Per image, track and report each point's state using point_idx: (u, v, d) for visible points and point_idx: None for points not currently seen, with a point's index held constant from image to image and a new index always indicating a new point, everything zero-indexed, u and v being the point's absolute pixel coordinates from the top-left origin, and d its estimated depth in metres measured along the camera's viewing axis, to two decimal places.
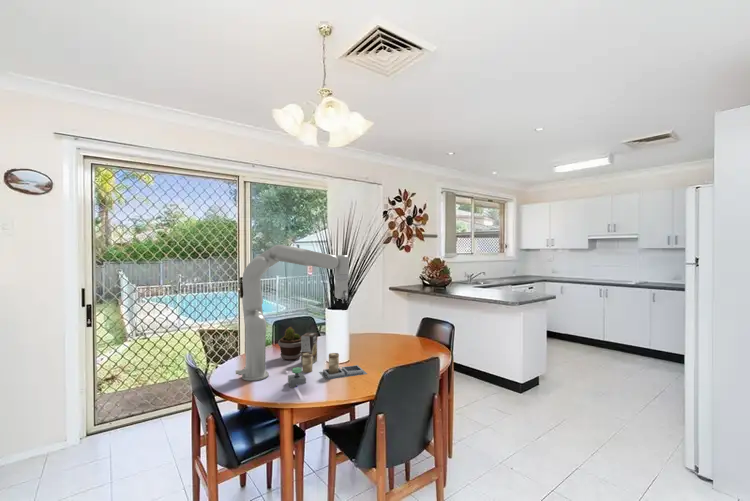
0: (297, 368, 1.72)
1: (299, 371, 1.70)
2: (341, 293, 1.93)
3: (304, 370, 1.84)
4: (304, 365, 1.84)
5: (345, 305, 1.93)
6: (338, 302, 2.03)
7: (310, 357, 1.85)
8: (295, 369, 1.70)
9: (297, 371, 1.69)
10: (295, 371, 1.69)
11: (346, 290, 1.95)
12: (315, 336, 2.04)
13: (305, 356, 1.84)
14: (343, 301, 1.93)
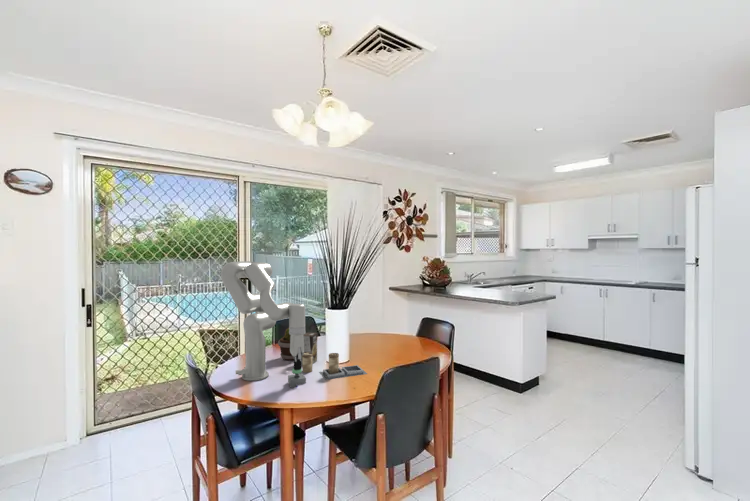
0: None
1: (299, 371, 1.70)
2: (295, 350, 1.66)
3: (304, 370, 1.84)
4: (304, 365, 1.84)
5: (298, 364, 1.70)
6: None
7: (310, 357, 1.85)
8: None
9: (297, 371, 1.69)
10: (295, 371, 1.69)
11: (301, 346, 1.67)
12: (315, 336, 2.04)
13: (305, 356, 1.84)
14: (296, 361, 1.69)
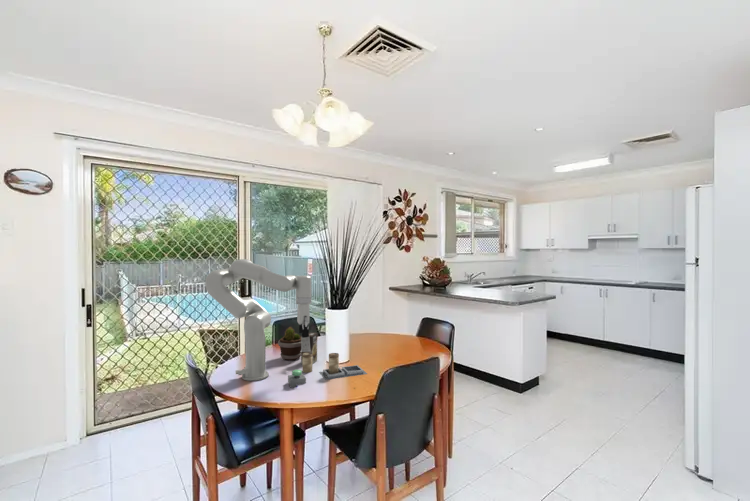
0: (297, 370, 1.72)
1: (299, 373, 1.70)
2: (301, 318, 1.74)
3: (304, 370, 1.84)
4: (304, 365, 1.84)
5: (306, 332, 1.74)
6: (301, 327, 1.84)
7: (310, 357, 1.85)
8: (295, 371, 1.70)
9: (297, 373, 1.69)
10: (295, 373, 1.69)
11: (307, 315, 1.75)
12: (315, 336, 2.04)
13: (305, 356, 1.84)
14: (303, 327, 1.74)
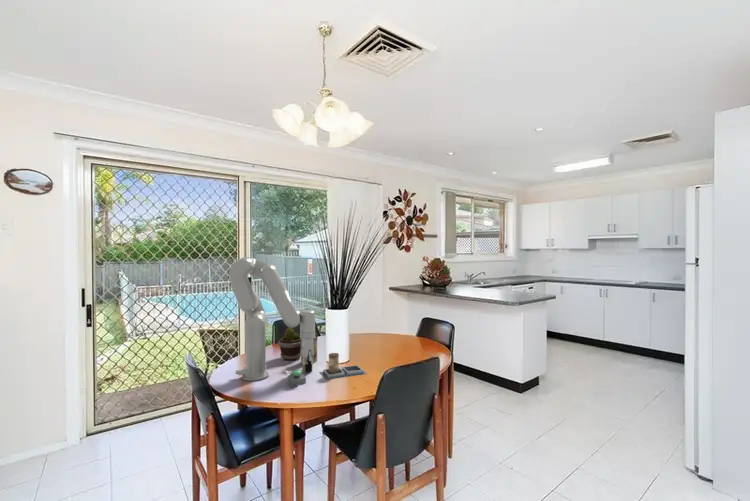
0: (297, 370, 1.72)
1: (299, 373, 1.70)
2: (306, 353, 1.81)
3: (304, 370, 1.84)
4: (304, 365, 1.84)
5: (309, 366, 1.83)
6: None
7: None
8: (295, 371, 1.70)
9: (297, 373, 1.69)
10: (295, 373, 1.69)
11: (311, 349, 1.82)
12: (315, 336, 2.04)
13: None
14: (307, 363, 1.82)
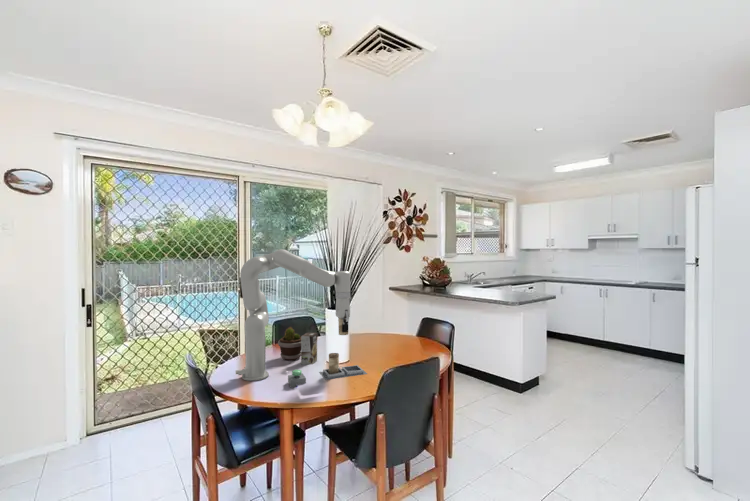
0: (297, 370, 1.72)
1: (299, 373, 1.70)
2: (343, 312, 1.80)
3: (341, 330, 1.83)
4: (340, 325, 1.83)
5: (346, 327, 1.82)
6: None
7: None
8: (295, 371, 1.70)
9: (297, 373, 1.69)
10: (295, 373, 1.69)
11: (348, 309, 1.81)
12: (315, 336, 2.04)
13: None
14: (344, 323, 1.81)
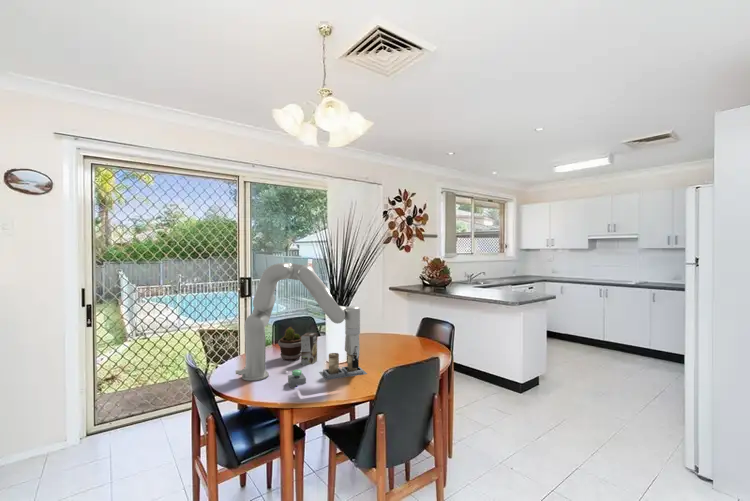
0: (297, 370, 1.72)
1: (299, 373, 1.70)
2: (352, 349, 1.80)
3: (349, 368, 1.83)
4: (349, 363, 1.83)
5: (356, 362, 1.81)
6: None
7: (355, 355, 1.84)
8: (295, 371, 1.70)
9: (297, 373, 1.69)
10: (295, 373, 1.69)
11: (357, 345, 1.81)
12: (315, 336, 2.04)
13: None
14: (354, 359, 1.80)
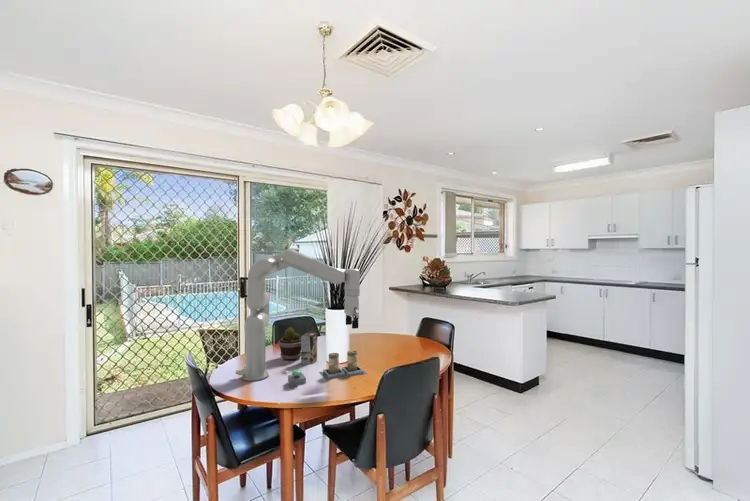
0: (297, 370, 1.72)
1: (299, 373, 1.70)
2: (352, 310, 1.80)
3: (349, 368, 1.83)
4: (349, 363, 1.83)
5: (356, 323, 1.80)
6: (348, 319, 1.90)
7: (355, 355, 1.84)
8: (295, 371, 1.70)
9: (297, 373, 1.69)
10: (295, 373, 1.69)
11: (357, 307, 1.81)
12: (315, 336, 2.04)
13: (350, 354, 1.83)
14: (354, 319, 1.80)
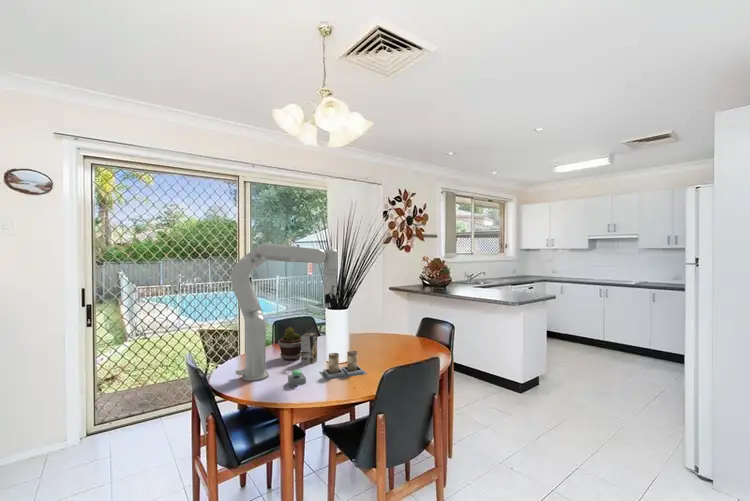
0: (297, 370, 1.72)
1: (299, 373, 1.70)
2: (329, 288, 1.89)
3: (349, 368, 1.83)
4: (349, 363, 1.83)
5: (334, 300, 1.89)
6: (327, 298, 1.98)
7: (355, 355, 1.84)
8: (295, 371, 1.70)
9: (297, 373, 1.69)
10: (295, 373, 1.69)
11: (335, 285, 1.90)
12: (315, 336, 2.04)
13: (350, 354, 1.83)
14: (331, 296, 1.88)
